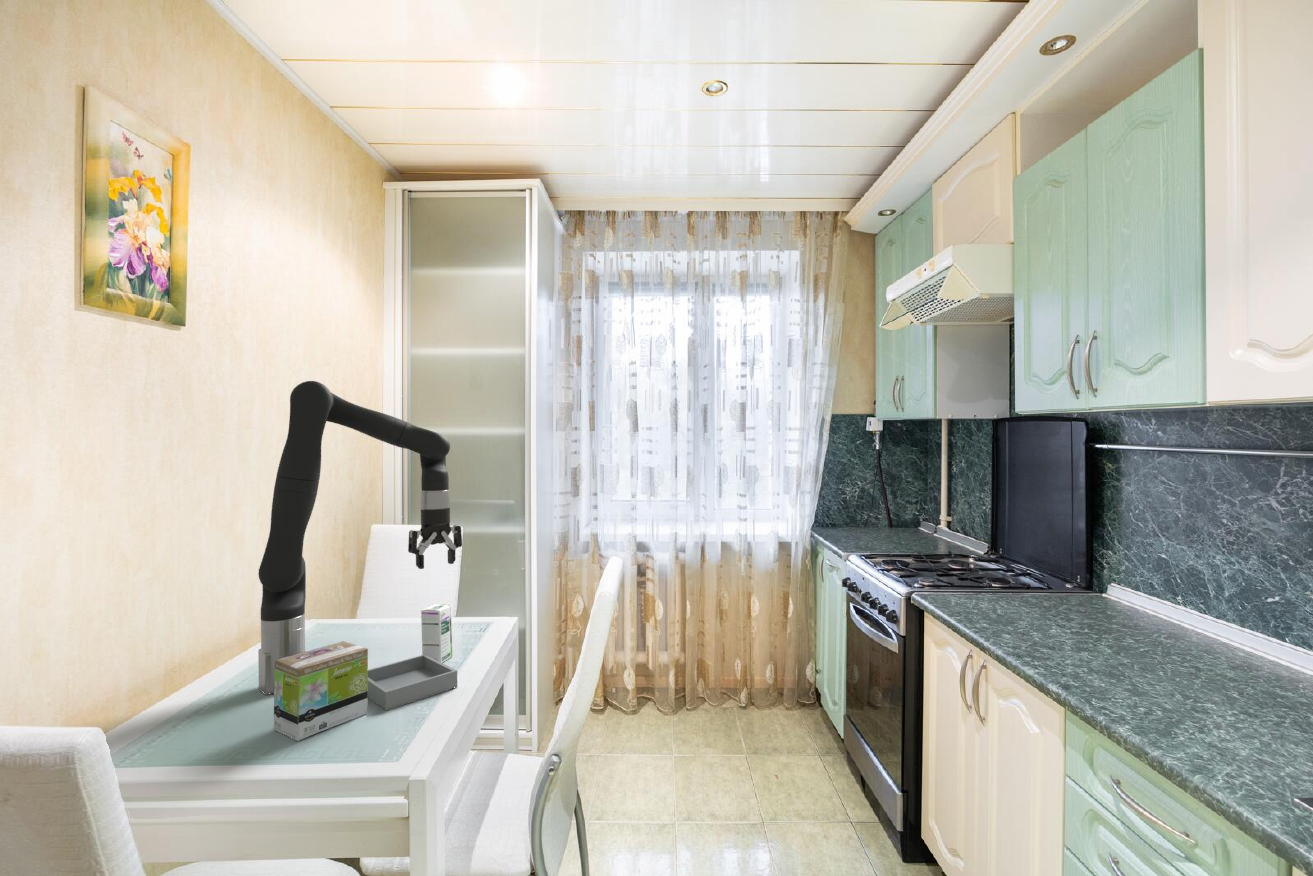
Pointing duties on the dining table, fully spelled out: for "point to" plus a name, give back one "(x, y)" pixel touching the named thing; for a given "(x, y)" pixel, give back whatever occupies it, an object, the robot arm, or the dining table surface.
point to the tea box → (320, 689)
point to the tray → (409, 681)
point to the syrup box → (437, 632)
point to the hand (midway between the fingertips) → (436, 566)
